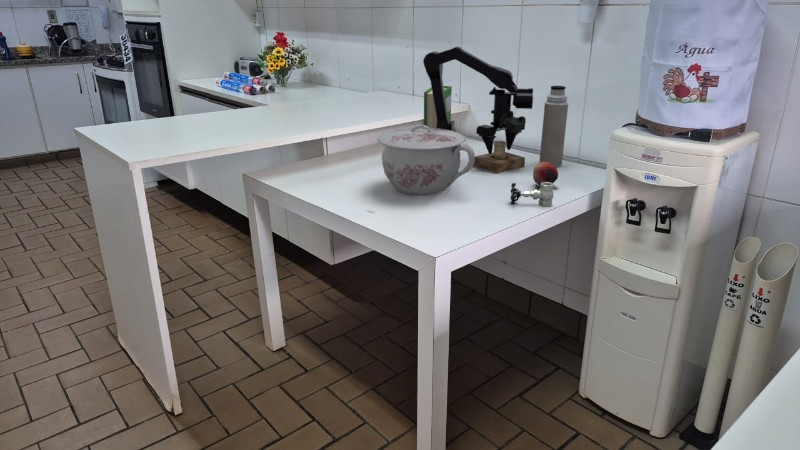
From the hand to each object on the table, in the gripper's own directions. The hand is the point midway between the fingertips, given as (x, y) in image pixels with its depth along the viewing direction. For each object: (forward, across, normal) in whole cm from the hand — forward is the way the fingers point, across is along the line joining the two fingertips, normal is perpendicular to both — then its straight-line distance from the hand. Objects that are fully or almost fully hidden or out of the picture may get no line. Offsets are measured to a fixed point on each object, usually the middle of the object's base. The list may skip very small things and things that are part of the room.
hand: (499, 151), depth 196 cm
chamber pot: (+6, -38, -3) cm, 39 cm away
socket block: (+6, 0, 0) cm, 6 cm away
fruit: (+6, -5, -26) cm, 27 cm away
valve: (+6, -21, -34) cm, 41 cm away
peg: (+6, 0, 0) cm, 6 cm away
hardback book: (+6, -2, +32) cm, 33 cm away
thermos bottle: (+6, +17, -10) cm, 20 cm away
